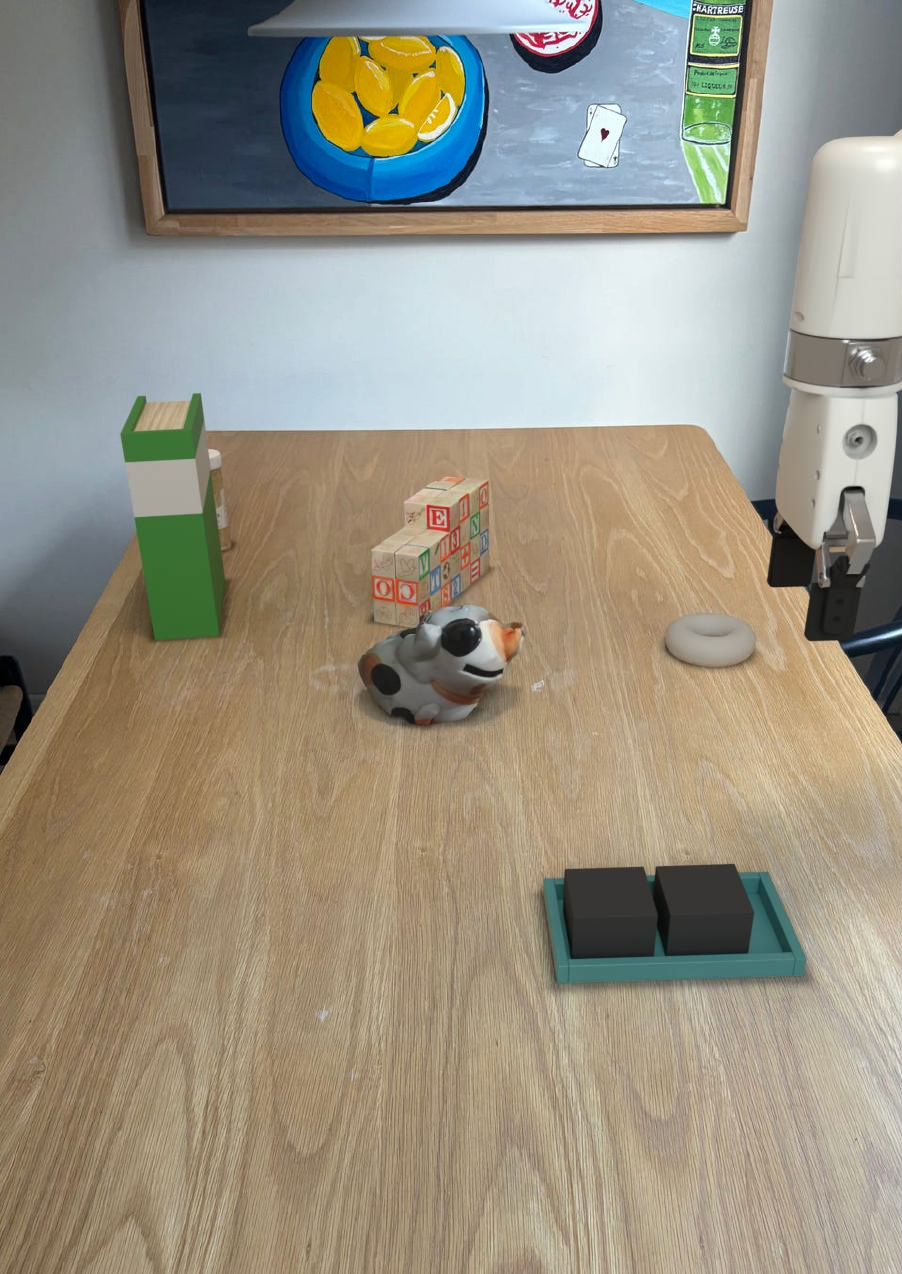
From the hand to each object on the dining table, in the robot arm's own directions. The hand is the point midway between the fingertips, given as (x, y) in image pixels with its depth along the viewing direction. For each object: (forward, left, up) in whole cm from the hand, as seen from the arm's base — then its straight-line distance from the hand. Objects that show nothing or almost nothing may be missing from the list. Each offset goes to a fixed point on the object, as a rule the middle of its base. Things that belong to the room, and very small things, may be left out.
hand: (807, 611), depth 82 cm
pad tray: (+10, +9, -22) cm, 26 cm away
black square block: (+8, +9, -22) cm, 25 cm away
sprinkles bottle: (+57, -80, -22) cm, 101 cm away
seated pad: (+15, +9, -22) cm, 28 cm away
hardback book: (+57, -57, -22) cm, 84 cm away
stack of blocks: (+27, -60, -22) cm, 70 cm away
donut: (-4, -41, -22) cm, 47 cm away
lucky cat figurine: (+26, -31, -22) cm, 46 cm away
